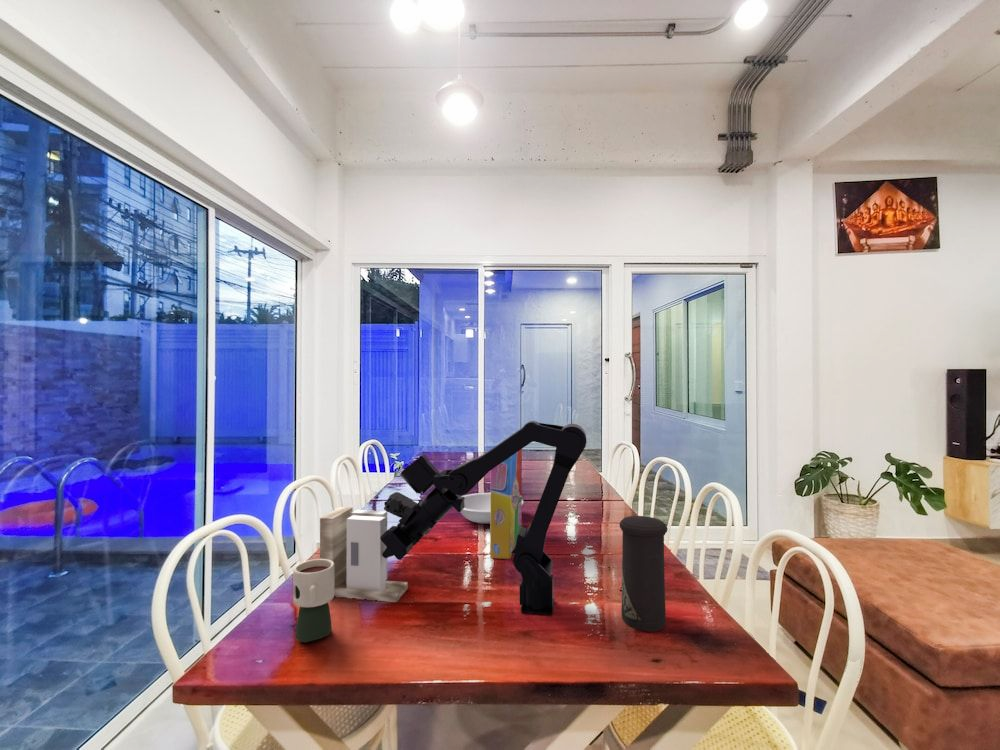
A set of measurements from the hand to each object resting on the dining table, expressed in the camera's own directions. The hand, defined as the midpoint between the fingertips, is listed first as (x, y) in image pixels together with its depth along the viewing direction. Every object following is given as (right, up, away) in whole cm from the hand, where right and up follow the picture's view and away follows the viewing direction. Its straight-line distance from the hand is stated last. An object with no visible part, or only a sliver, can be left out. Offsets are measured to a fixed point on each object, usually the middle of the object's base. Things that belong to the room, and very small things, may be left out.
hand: (384, 556), depth 102 cm
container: (+54, -8, -12) cm, 56 cm away
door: (-4, -8, +1) cm, 9 cm away
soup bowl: (+22, -9, +53) cm, 58 cm away
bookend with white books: (-4, -8, +3) cm, 10 cm away
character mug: (-9, -8, -17) cm, 21 cm away
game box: (+28, -9, +29) cm, 42 cm away
